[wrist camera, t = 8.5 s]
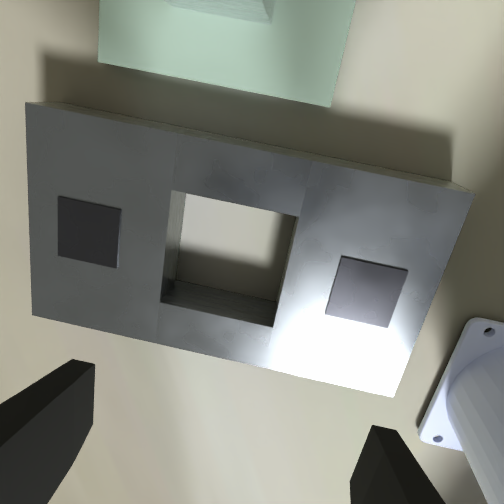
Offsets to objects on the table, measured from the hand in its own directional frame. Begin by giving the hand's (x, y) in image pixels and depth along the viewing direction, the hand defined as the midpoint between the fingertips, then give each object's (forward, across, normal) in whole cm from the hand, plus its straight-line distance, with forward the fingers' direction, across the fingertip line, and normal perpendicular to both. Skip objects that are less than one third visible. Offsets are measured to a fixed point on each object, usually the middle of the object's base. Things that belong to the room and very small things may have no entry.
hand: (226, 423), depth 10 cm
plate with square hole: (+10, +2, -1) cm, 11 cm away
